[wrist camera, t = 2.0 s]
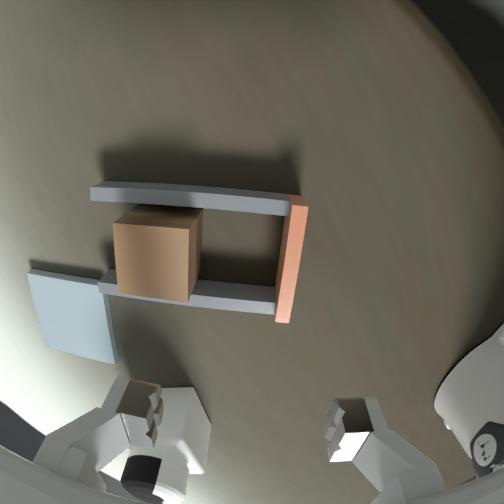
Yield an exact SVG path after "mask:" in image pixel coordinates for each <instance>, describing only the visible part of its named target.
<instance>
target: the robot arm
mask: <svg viewBox="0 0 504 504" xmlns="http://www.w3.org/2000/svg"><path fill="white" fill-rule="evenodd" d="M161 392H162V390H161V385H160V384H155V383H151V382H146V381H141V380H137V379H133V378H128V377H123V376H118V377H116V378H115V380H114V382H113V384H112V386H111V388H110V390H109V392H108V394H107V396H106V398H105V400H104V402H103V405H102V407H101V408H98V407H97V408H95V409H93V410H91V411H90V412H88V413H86V414H84V415H83V416H81V417H79V418H77V419H75V420H74V421H72V422H70V423H68V424H66V425H65V426H63V427H61V428H59V429H57V430H56V431H54V432H52V433H50V434H48V435H47V436H46V438H45V440H44V441H43V443H42V445H41V447H40V449H39V451H38V453H37V455H36V457H35V458H34V460H33V462H31V461H28V460H27V459H25V458H23V457H21V456H19V455H17V454H15V453H13V452H12V451H10V450H8V449H6V448H4V447H3V446H1V445H0V504H148V503H143V502H139V501H135V500H132V499H128V498H124V497H121V496H117V495H114V494H111V493H108V492H105V490H106V485H105V483H104V481H103V480H102V478H101V477H100V475H99V474H98V471H99V470H101V469H102V468H103V467H104V466H106V465H107V464H108V463H109V462H111V461H112V460H113V459H114V458H115V457H117V456H118V455H119V454H120V453H122V452H123V451H124V450H125V449H126V448H128V447H129V446H130V444H133V445H137V446H142V447H147V448H153V449H154V446H155V442H156V439H157V436H158V432H157V427H158V426H159V425H161V422H162V418H163V411H164V404H163V399H162V398H161V397H160V396H161ZM434 407H435V410H436V412H437V413H438V414H439V415H440V416H441V417H442V418H443V419H444V424H445V426H446V427H447V429H451V430H452V431H453V433H454V435H455V436H456V438H457V439H458V441H459V442H460V444H461V445H462V447H463V448H464V450H465V451H466V453H467V454H468V456H469V457H470V458H472V461H473V468H474V470H475V472H476V474H477V475H476V476H477V478H478V479H476V480H474V481H471V482H469V483H466V484H464V485H461V486H458V487H455V488H452V489H449V490H447V491H446V488H445V485H444V483H443V480H442V477H441V475H440V472H439V470H438V467H437V465H436V463H435V462H433V461H432V460H431V459H429V458H428V457H427V456H425V455H424V454H423V453H421V452H420V451H419V450H417V449H416V448H415V447H413V446H412V445H411V444H410V443H408V442H407V441H406V440H404V439H403V438H402V437H401V436H399V435H398V434H397V433H395V432H394V431H393V430H388V427H387V424H386V422H385V419H384V416H383V413H382V411H381V408H380V405H379V403H378V400H377V398H376V397H355V398H335V399H334V400H333V401H332V403H331V409H332V410H331V411H330V412H328V413H327V415H326V418H325V423H324V433H325V437H326V438H327V439H328V440H329V441H330V442H329V444H328V446H327V450H328V456H329V462H335V461H352V462H353V463H354V464H355V466H356V467H357V468H358V469H359V470H360V471H361V472H362V473H363V474H364V476H365V477H366V478H367V479H368V480H369V481H370V482H371V483H372V484H373V485H374V486H375V488H376V489H377V490H378V491H379V492H380V494H379V495H378V496H377V497H376V498H375V499H374V500H373V501H372V502H371V503H370V504H504V324H503V325H502V326H501V327H500V328H499V329H498V330H497V331H496V332H495V334H494V335H493V336H492V337H490V338H489V339H488V340H486V341H485V342H484V343H482V344H481V345H479V346H478V347H476V348H475V349H474V350H473V351H471V352H470V353H469V354H468V355H467V356H465V357H464V358H463V359H462V360H461V361H460V362H459V363H458V364H457V365H456V366H455V368H454V369H453V370H452V371H451V372H450V373H449V375H448V376H447V377H446V379H445V380H444V382H443V383H442V385H441V386H440V388H439V390H438V392H437V395H436V398H435V402H434Z"/></svg>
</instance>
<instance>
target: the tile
mask: <svg viewBox="0 0 504 504" xmlns="http://www.w3.org/2000/svg"><path fill="white" fill-rule="evenodd" d="M27 276H28V281H29V285H30V290H31V294H32V298H33V302H34V306H35V310H36V314H37V317H38V321H39V324H40V328H41V331H42V334H43V338H44V341H45V344H46V346H47V347H50V348H53V349H57V350H60V351H64V352H67V353H71V354H75V355H78V356H82V357H86V358H90V359H94V360H98V361H102V362H107V363H111V364H115V365H116V363H117V361H118V359H119V356H118V351H117V346H116V341H115V335H114V330H113V324H112V318H111V311H110V304H109V297H108V294H103V293H99V289H98V281H99V280H97V279H90V278H84V277H77V276H71V275H65V274H59V273H53V272H48V271H42V270H36V269H32V270H30V271H29V272H28V273H27Z"/></svg>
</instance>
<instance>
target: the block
mask: <svg viewBox="0 0 504 504" xmlns="http://www.w3.org/2000/svg"><path fill="white" fill-rule="evenodd" d="M202 219H203V209H193V208H180V207H167V206H152V205H139V206H137V207H136V208H134V209H133V210H131V211H130V212H128V213H127V214H125V215H124V216H122V217H121V218H119V219H118V220H117V221H115V222H114V223H113V235H114V251H115V263H116V274H117V284H118V293H121V294H128V295H135V296H142V297H149V298H156V299H164V300H172V301H180V302H188V301H189V299H190V296H191V294H192V291H193V288H194V286H195V283H196V281H197V278H198V276H199V273H200V270H201V242H202Z"/></svg>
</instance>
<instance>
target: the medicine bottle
mask: <svg viewBox="0 0 504 504" xmlns="http://www.w3.org/2000/svg"><path fill="white" fill-rule="evenodd" d="M161 390H162V392H161V396H160V397H161V398H162V399H163V404H164V411H163V418H162V422H161V425H159V426H158V427H157V432H158V436H157V439H156V442H155V446H154V449H153V448H147V447H142V446H137V445H133V444H130V446H129V447H128V448H126V449H127V450H128V452H129V456H128V459H127V462H126V465H125V468H124V471H123V474H122V477H121V484H122V486H123V487H124V488H125V490H127V491H128V492H129V493H130V494H132V495H133V496H135V497H137V498H139V499H141V500H143V501H146V502H149V503H153V504H179V503H181V502H182V501H184V499H185V494H186V488H187V482H188V477H189V474H203V473H204V472H205V467H206V460H207V453H208V446H209V439H210V432H211V424H210V422H209V419H208V417H207V415H206V413H205V411H204V409H203V407H202V404H201V402H200V400H199V398H198V396H197V393H196V391H195V389H194V388H193V387H178V388H161Z"/></svg>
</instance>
